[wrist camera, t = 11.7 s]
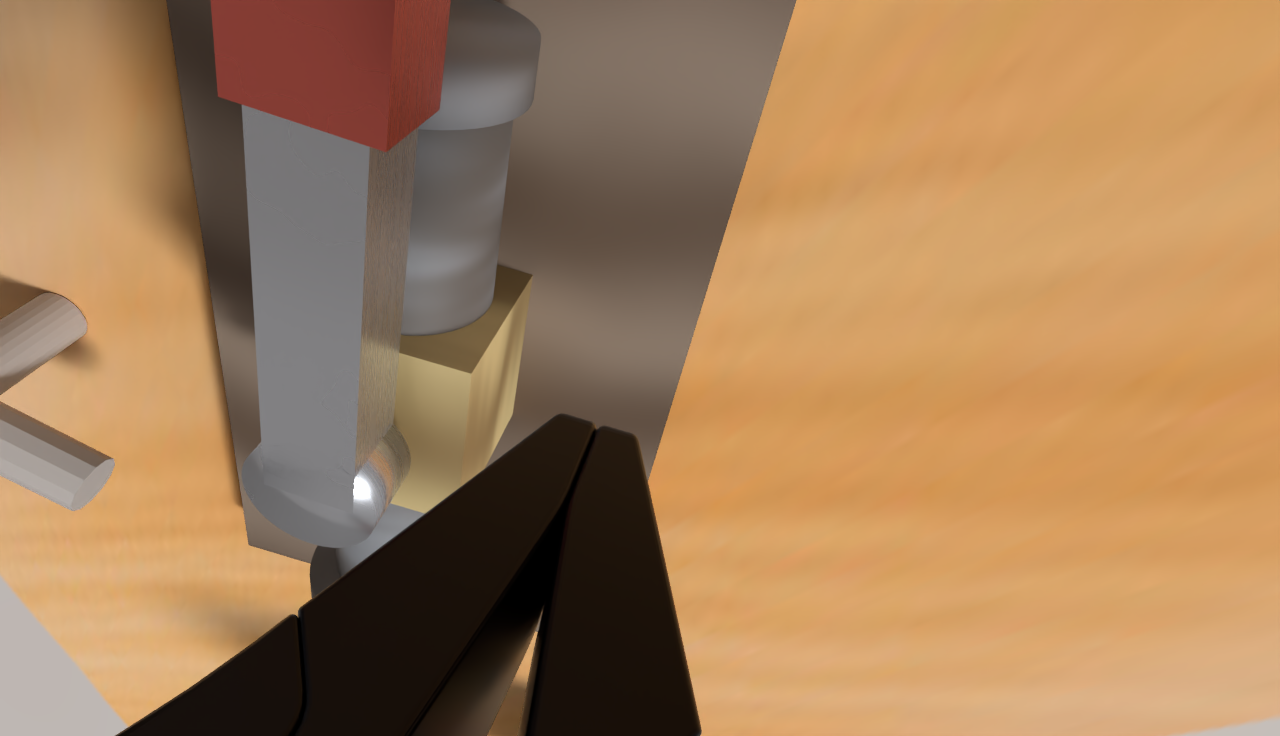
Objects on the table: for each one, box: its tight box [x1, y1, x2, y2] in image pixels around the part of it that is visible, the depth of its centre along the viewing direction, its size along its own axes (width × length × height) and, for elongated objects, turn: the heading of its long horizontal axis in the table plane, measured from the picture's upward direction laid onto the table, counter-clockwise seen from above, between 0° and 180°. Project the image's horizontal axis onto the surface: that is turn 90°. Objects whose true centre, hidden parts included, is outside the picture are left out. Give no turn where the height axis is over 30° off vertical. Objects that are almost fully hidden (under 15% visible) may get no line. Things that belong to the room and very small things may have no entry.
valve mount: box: [166, 0, 796, 632], centre depth 22 cm, size 24×14×6 cm, turn 168°
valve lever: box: [211, 0, 451, 548], centre depth 14 cm, size 15×3×2 cm, turn 165°
